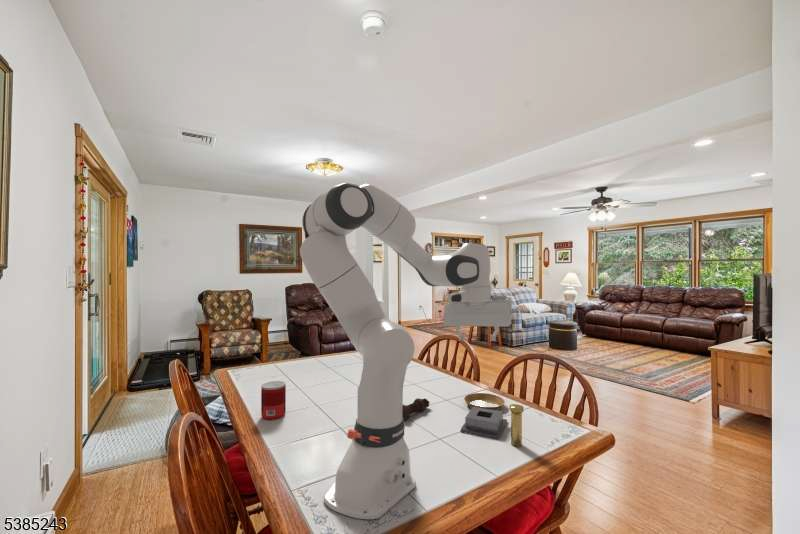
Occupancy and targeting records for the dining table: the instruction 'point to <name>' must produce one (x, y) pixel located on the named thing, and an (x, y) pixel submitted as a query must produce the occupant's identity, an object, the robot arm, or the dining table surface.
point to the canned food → (273, 400)
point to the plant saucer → (487, 398)
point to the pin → (516, 424)
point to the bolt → (414, 407)
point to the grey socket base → (484, 422)
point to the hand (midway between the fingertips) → (477, 340)
